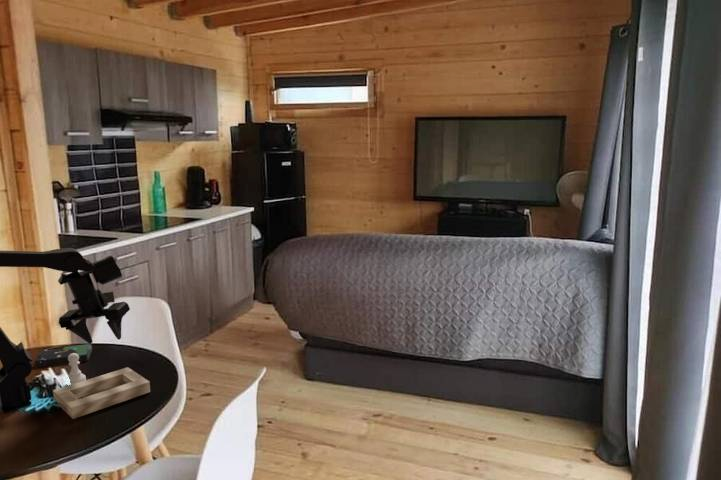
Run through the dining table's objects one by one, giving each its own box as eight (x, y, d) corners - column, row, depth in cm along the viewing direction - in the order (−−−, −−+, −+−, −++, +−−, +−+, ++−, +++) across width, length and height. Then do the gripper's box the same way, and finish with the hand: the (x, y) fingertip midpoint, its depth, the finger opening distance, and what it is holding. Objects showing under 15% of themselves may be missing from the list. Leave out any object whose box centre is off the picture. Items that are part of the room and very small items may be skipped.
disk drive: (35, 369, 167) (88, 362, 172) (33, 361, 166) (87, 353, 171) (42, 357, 176) (92, 350, 181) (41, 349, 176) (91, 342, 181)
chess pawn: (87, 378, 159) (84, 349, 157) (84, 385, 154) (80, 355, 152) (68, 380, 158) (65, 351, 156) (64, 388, 153) (60, 357, 151)
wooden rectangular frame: (72, 419, 136) (71, 408, 135) (54, 400, 146) (52, 390, 145) (150, 391, 150) (149, 381, 149) (128, 376, 160) (127, 367, 159)
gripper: (129, 274, 155) (148, 322, 160) (72, 284, 158) (92, 330, 164) (108, 292, 145) (129, 342, 150) (47, 302, 148) (70, 351, 153)
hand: (105, 340), depth 154 cm, fingers open, 9 cm apart
